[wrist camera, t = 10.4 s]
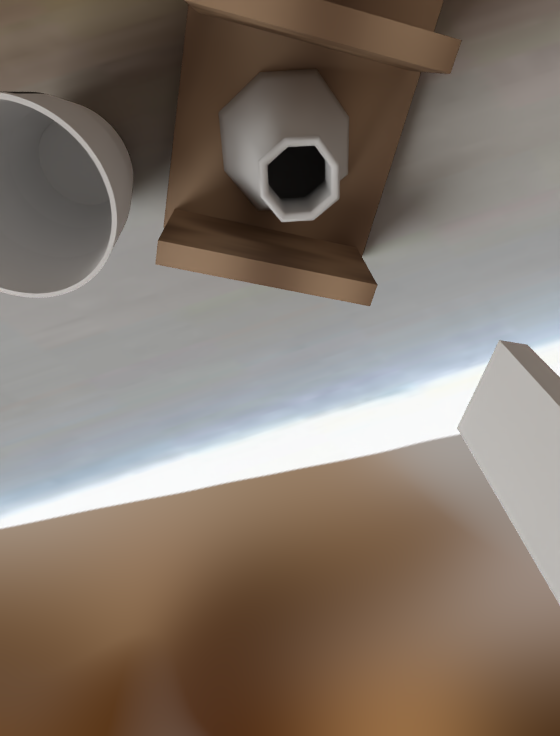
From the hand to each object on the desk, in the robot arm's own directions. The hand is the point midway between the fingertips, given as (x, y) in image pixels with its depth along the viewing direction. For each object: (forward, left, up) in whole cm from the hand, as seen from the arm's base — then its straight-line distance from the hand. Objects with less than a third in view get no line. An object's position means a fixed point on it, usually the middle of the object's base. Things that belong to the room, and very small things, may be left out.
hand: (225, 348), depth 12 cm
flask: (+2, +2, -20) cm, 20 cm away
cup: (-9, -1, -21) cm, 23 cm away
